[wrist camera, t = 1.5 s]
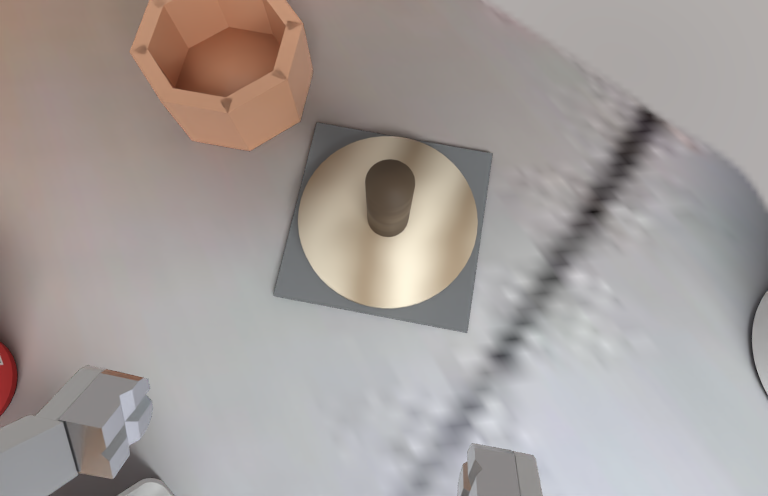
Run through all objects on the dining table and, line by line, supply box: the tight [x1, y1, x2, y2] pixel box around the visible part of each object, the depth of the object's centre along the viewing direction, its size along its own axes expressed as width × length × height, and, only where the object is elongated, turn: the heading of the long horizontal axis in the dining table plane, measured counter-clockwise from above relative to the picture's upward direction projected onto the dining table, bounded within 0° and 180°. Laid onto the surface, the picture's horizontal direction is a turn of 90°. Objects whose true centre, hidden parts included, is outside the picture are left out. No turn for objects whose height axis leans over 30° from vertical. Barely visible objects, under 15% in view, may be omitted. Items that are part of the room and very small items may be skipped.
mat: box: [274, 122, 492, 333], centre depth 38 cm, size 15×15×1 cm
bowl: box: [130, 0, 313, 151], centre depth 38 cm, size 12×12×6 cm
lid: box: [298, 136, 478, 309], centre depth 34 cm, size 14×14×8 cm
